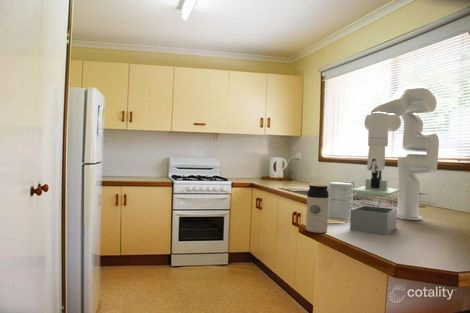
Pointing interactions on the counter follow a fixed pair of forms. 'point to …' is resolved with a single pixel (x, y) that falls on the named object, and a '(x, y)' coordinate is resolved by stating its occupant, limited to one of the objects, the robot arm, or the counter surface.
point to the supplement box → (340, 201)
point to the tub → (373, 219)
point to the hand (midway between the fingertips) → (376, 187)
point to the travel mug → (317, 208)
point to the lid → (375, 190)
